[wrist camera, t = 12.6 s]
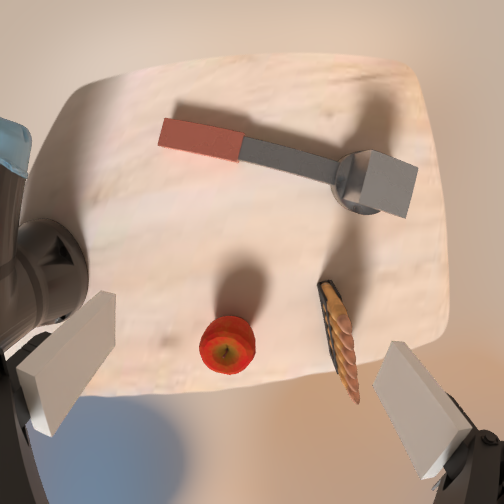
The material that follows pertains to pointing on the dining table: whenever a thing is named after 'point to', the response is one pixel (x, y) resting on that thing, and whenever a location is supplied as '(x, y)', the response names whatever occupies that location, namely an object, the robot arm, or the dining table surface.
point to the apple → (227, 345)
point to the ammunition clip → (339, 337)
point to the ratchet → (260, 155)
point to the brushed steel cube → (380, 182)
